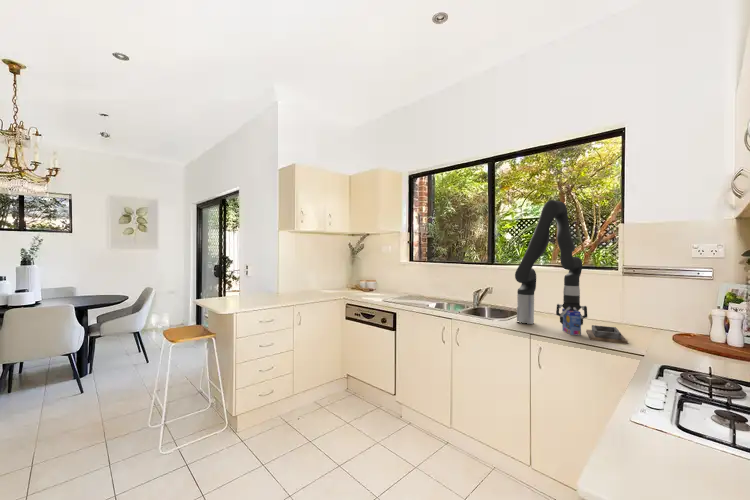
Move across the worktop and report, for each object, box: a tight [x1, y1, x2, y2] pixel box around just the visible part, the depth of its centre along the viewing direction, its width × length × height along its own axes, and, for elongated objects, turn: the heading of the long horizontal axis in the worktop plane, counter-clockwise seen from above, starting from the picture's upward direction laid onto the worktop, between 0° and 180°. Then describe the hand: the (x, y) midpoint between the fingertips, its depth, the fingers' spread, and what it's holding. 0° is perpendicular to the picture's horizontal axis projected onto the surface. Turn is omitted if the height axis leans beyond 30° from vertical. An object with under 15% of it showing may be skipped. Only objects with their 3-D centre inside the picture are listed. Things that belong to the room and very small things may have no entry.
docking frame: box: [585, 324, 629, 345], centre depth 170 cm, size 15×18×4 cm
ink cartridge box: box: [561, 306, 582, 336], centre depth 178 cm, size 10×6×14 cm, turn 174°
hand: (571, 324), depth 178 cm, fingers open, 8 cm apart
